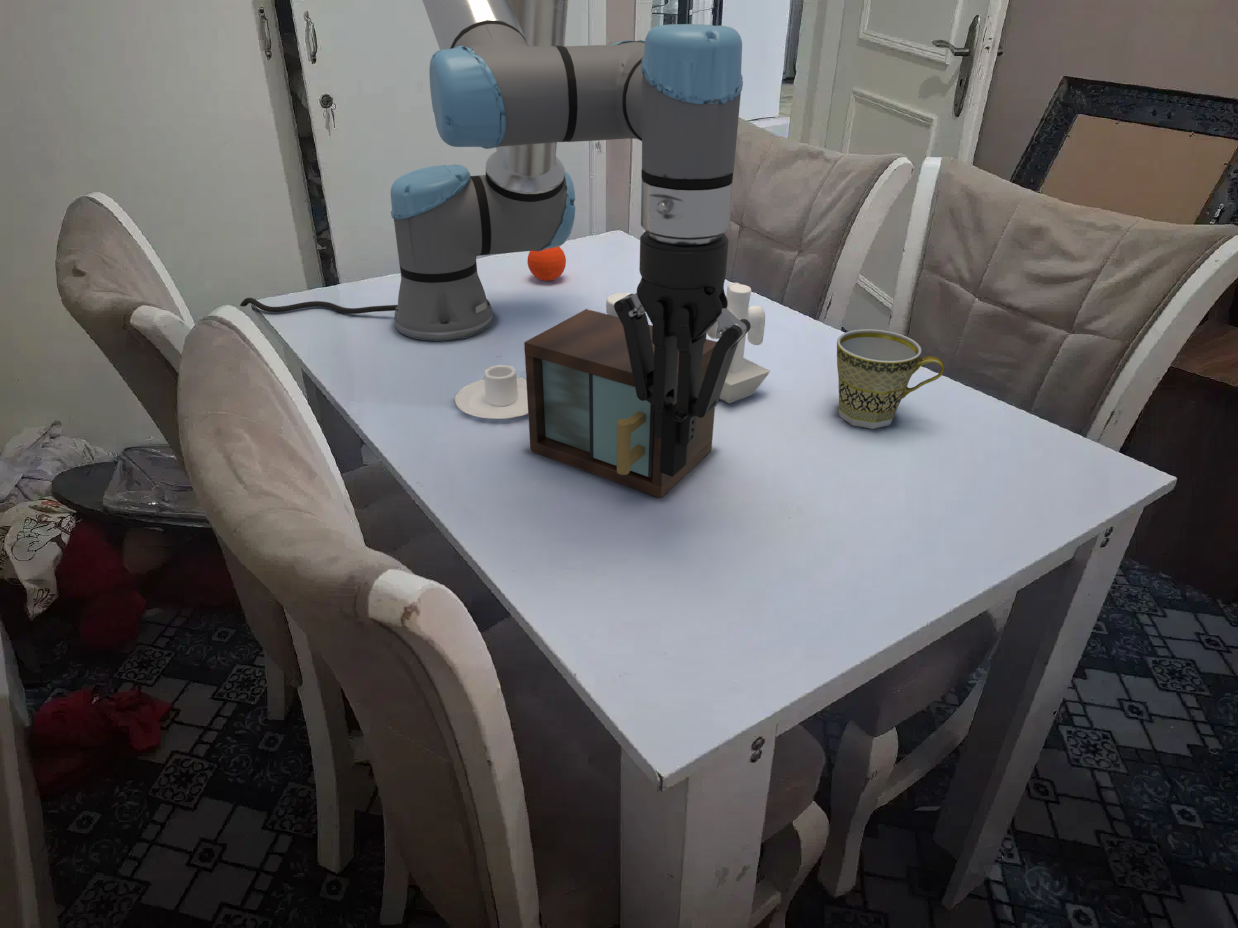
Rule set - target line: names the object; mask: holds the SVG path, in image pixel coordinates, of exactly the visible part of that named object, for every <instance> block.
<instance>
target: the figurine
mask: <svg viewBox="0 0 1238 928" xmlns="http://www.w3.org/2000/svg"><path fill="white" fill-rule="evenodd" d="M725 295H726V298H727V301H728V306H727V309H728V310H729V311H730V312H731V313H732V314H733V315H734V316H735V317H736V318H737V319H738V320H739V321H740V320H741V319H746V320H748V321H749V322H750V325H751V327H750V330H749V331H748V332H747V333H746V334H745V336H744V337H743V338H742V339H741V340H740V341H739V342H738V345H737V348H736V351H735V354H734V357H733V359H732V362H731V365H730V368H729V371H728V374H727V377H726V380H725V382H724V385H723V388H722V391H721V394H720V397H719V400H721V401H724V402H725V403H728V404H731V403H734V402H736V401H740V400H742V399H745V398H747V397H750V396H753V395H754V393H756V391H757V389H759V388H760V386H761V385H762V383H763V382H764V381H765V380H766V378H767V377H768V375H770V373H771V370H770V369H768V368H766V367H763V366H761V365H759V364H757V363H755V362H753V361H751V360H749V359H747V358H745V347H746V336H747V341H748V343H750V344H751V345H753V346H760V345H762V344H763V342H764V336H765V335H764V334H765V326H766V312H765V309H764V308H763V307H762V306H761V305H751V306H750V305H749V304H750V299H751V295H752V288H751V287H750V286H749V285H746V284H743V283H742V284H741V283H739V282H731V283H729V284H728V285H727V287H726V294H725ZM718 325H719V324H718V321H716V322H715V323H714V325H713V326H712V327H711V328H710V329H709V330H708V331H707V336H708V337H709V338H711V340H717V339H718V340H719V338H717V336H716V334H717V329H718Z"/></svg>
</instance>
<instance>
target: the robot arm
mask: <svg viewBox="0 0 1238 928" xmlns="http://www.w3.org/2000/svg"><path fill="white" fill-rule="evenodd" d="M422 3H423V6H424V9H425V12H426V15H427V17H428V20H429V23H430V26H431V28H432V31H433V34H434V37H435V40H436V43H437V45H438V48H439V50H437V51H435V52H434V53H433V54H432V56H431V58H430V60H429V69H428V70H429V71H428V72H429V73H428V74H429V90H430V99H431V106H432V112H433V115H434V120H435V126H436V127H435V128H436V131H437V133H438V135H439V137H440V139H441V140H442V141H443V142H444V143H445V144H446V145H448V146H450V147H454V148H483V149H484V150H485V149H486V150H490V149H495V148H496V150H495V151H494V152H493V153H491V154H490V155H489V156H488V158H487V160H486V162H485V174H480V175H479V174H478V175H471V173H470V171H469V169H468V168H467V167H466V166H464V165H462V164H449V165H447V164H439V165H432V166H427V167H423V168H419V169H415V170H412V171H409V172H407V173H405V174H403V175H401V176H399V177H397V178H396V180H394V181H393V183H392V184H391V188H390V203H391V210H390V215H391V218H392V219H393V225H394V232H395V240H396V248H397V249H396V250H397V256H398V263H399V271H400V272H399V273H400V282H399V283H400V284H399V290H398V298H397V304H387V305H371V306H363V307H343V306H340V305H337V304H335V303H332V302H329V301H323V300H322V301H321V300H313V301H304V302H299V303H294V304H289V305H281V306H270V305H266V304H264V303H262V302H260V301H259V300H257V299H255V298H253V297H245V298H244V299H243V300H242V301H241V303H240V304H239V306H240V307H247V306H248V305H249V304H251V305H253V306H254V307H256V308H258V309H259V310H262V311H264V312H267V313H285V312H290V311H296V310H302V309H307V308H325V309H326V308H327V309H330V310H333V311H335V312H338V313H341V314H345V315H346V314H348V315H358V314H359V315H360V314H367V313H377V312H379V313H380V312H394V321H395V328H396V329H397V331H398V332H399V333H400V334H401V335H403V336H405V337H408V338H411V339H416V340H421V341H431V342H439V341H440V342H443V341H444V342H445V341H455V340H460V339H465V338H469V337H472V336H475V335H477V334H480V333H482V332H484V331H485V330H487V329H488V328H489V327H491V326H492V324H493V322H494V315H493V309H492V304H491V302H490V300H488V299H487V295H486V291H485V289H484V286H483V283H482V281H481V278H480V277H479V272H478V263H477V257H480V256H490V255H501V254H511V253H512V254H513V253H514V254H515V253H522V252H524V253H525V252H530V251H541V250H545V249H549V248H556V247H561V246H563V245H565V243H566V242H567V240H568V239H569V238H570V235H571V233H572V231H573V228H574V223H575V217H576V206H575V202H576V193H575V191H576V190H575V186H574V182H573V179H572V176H571V175H570V174H569V173H568V171H566V170H565V166H564V164H563V163H562V161H561V160H560V159H559V158H558V157H557V147H558V143H575V142H593V141H612V140H628V139H629V140H630V139H633V140H638V141H640V142H641V170H640V171H641V172H640V173H641V177H640V178H641V193H640V197H641V198H640V226H641V227H642V229H643V231H644V230H645V231H644V232H642V234H641V235H640V237H639V270H638V271H639V274H640V276H641V277H640V281H639V283H638V285H637V287H636V292H635V293H631V294H629V295H628V296H626V297H624V298H622V299H620V300H618V301H617V302H615V304H614V309H615V311H616V313H617V315H618V317H619V319H620V321H621V323H622V325H623V328H624V333H625V338H626V343H627V349H628V354H629V359H630V364H631V369H632V374H633V379H634V384H635V389H636V394H637V397H638V399H639V400H641V401H645V400H646V401H648V402H649V403H651V404H652V405H653V408H654V409H655V418H654V423H655V424H654V434H655V437H656V438H659V439H661V451H660V473H663V474H666V475H669V476H672V477H673V476H674V475H675V474H676V473H677V472H678V471H680V470H681V469H682V468H683V467H684V466H685V465H686V455H687V446H688V445H689V444H690V443H691V442H693V440H694V438H695V434H696V419H697V417H699V418H702V417H704V416H705V415H706V414H707V413H709V412H710V411H711V410H712V409H713V408H715V409H716V407H717V405H718V403H719V400H720V398H719V397H720V394H721V391H722V388H723V385H724V382H725V380H726V377H727V374H728V371H729V368H730V365H731V362H732V359H733V357H734V354H735V351H736V348H737V345H738V342H739V341H740V340H741V339H742V338H743V337H744V336H745V334H746V335H747V334H748V331H749V330H750V327H751V325H750V322H749V321H748V320H746V319H741V320H740V321H739V320H738V319H737V318H736V317H735V316H734V315H733V314H732V313H731V312H730V311H729V310H728V309H727V306H728V301H727V298H726V295H727V294H726V292H725V281H726V277H727V265H728V255H729V254H728V253H729V252H728V251H729V238H728V237H727V235H726V234H725V233H727V232H728V231H729V230H730V228H731V217H732V216H731V215H732V197H733V181H734V171H735V162H736V161H735V160H736V148H737V140H738V128H739V127H738V126H739V118H740V117H739V116H740V107H741V106H740V105H741V94H742V91H743V86H744V80H743V79H744V78H743V74H742V63H743V62H742V61H743V60H742V58H743V40H742V36H741V35H740V34H739V32H738V31H737V29H735V28H733V27H732V26H727V25H715V24H714V25H713V24H703V23H701V24H698V23H685V24H684V23H683V24H682V23H677V24H676V23H674V24H673V23H671V24H660V25H656V26H653V27H652V28H651V29H650V30H649V31H648V33H647V34H646V37H645V39H644V40H642V39H639V40H621V41H618V42H614V43H612V44H593V45H566V44H565V43H566V35H567V34H566V33H567V20H568V7H569V0H422ZM648 319H649V320H648ZM649 321H650V323H651V325H652V340H651V335H650V329H649V325H650V323H649ZM716 321H718V324H719V325H718V329H717V334H716V336H717V338H718V340H717V341H716V342H717V343H716V345H715V346H714V349H713V352H712V355H711V358H710V361H709V364H708V367H707V370H706V373H705V376H704V379H703V382H702V385H701V376H702V360H703V346H704V343H705V341H706V339H707V336H708V334H707V331H708V330H709V329H710V328H711V327H712V326H713V325H714V323H715V322H716ZM652 343H653V344H654V351H653V346H652ZM678 351H679V365H678ZM677 365H678V386H677V394H676V385H677ZM676 399H677V404H675V405H673V402H674V401H675V400H676Z"/></svg>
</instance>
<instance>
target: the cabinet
mask: <svg viewBox="0 0 1238 928" xmlns="http://www.w3.org/2000/svg"><path fill="white" fill-rule="evenodd" d="M649 329H650V335H651V340H652V324H649ZM716 343H717V341H715V340H713V339H708V338H706V341H705V343H704V346H703V360H702V376H701V385H702V382H703V379H704V376H705V373H706V370H707V367H708V364H709V361H710V358H711V355H712V352H713V349H714V346H715V345H716ZM652 346H653V351H654V344H653V343H652ZM523 347H524V348H523V349H524V362H525V363H524V364H525V366H524V367H525V379H526V383H527V401H528V414H527V415H528V416H527V417H528V430H529V431H528V433H529V435H528V436H529V448H530V452H531V453H533V454H534V453H535V454H537V455H539V456H543V457H545V458H548V459H550V460H554V461H557V462H559V463H563V464H565V465H568V466H571V467H574V468H576V469H579V470H580V471H581V470H582V471H584V472H587V473H590V474H593V475H595V476H598V477H601V478H604V479H607V480H610V481H612V482H615V483H618V484H620V485H623V486H626V487H629V488H630V489H631V488H632V489H635V490H637V491H639V492H643V493H644V494H645V493H646V494H648V495H650V496H654V497H656V498H659V499H661V498H663V497H664V496H665V495H666V494H667V493H668V492H669V491H670V490H672V489H673V488H674V487H675V486H676V485H677V484H678V483H679V482H680V481H681V480H682V479H683V478H684V477H686V476H687V474H689V473H690V472H691V471H692V470H693V469H694V468H695V467H696V466H697V465H698V464H699V463H700V462H701V461H703V460H704V459H705V458H706V457H707V456H708V455H709V454H710V453H711V452H712V450H713V449H712V448H713V435H714V426H715V425H714V422H715V412H716V411H715V410H716V407H715V408H713V409H712V410H711V411H710V412H709V413H707V414H706V415H705V416H704V417H702V418H699V417H697V419H696V434H695V438H694V440H693V442H691V443H690V444H689V445H688V446H687V455H686V465H685V466H684V467H683V468H682V469H681V470H680V471H678V472H677V473H676V474H675V475H674V476H673V477H672V476H669V475H666V474H663V473H660V451H661V439H659V438H656V437H655V434H654V448H653V476H652V478H649V477H647V476H644V475H641V474H639V473H636V472H633V471H630V472H629V474H626V475H620V474H618V473H617V466H616V465H613V464H610V463H607V462H604V461H601V460H598V459H596V458H592V457H590V426H589V373H590V374H593V375H596V376H600V377H603V378H607V379H610V380H614V381H617V382H620V383H624V384H627V385H631V386H634V387H635V384H634V379H633V374H632V369H631V364H630V359H629V354H628V349H627V343H626V338H625V333H624V328H623V325H622V323H621V321H620V319H619V317H616V316H612V315H608V314H607V313H603V312H600V311H596V310H591V309H587V308H585V309H584V310H582V311H580V312H578V313H575V314H574V315H572V316H570V317H568V318H567V319H565V320H563V321H561V322H559V323H558V324H556V325H553V326H552V327H550V328H548V329H546V330H544V331H543V332H540V333H539V334H537V335H534V336H533V337H531V338H529V339H527V340H526V341H524V342H523ZM678 365H679V351H678ZM678 365H677V385H676V394H677V386H678ZM675 404H677V399H676V400H675V401H674V402H673V405H675ZM654 424H655V423H654Z"/></svg>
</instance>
